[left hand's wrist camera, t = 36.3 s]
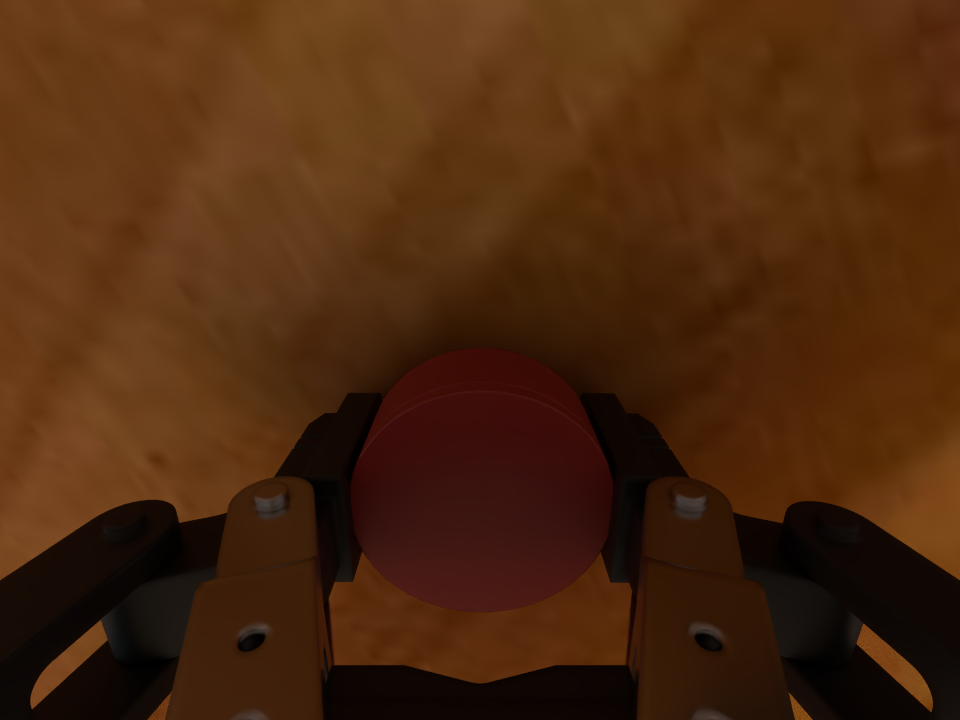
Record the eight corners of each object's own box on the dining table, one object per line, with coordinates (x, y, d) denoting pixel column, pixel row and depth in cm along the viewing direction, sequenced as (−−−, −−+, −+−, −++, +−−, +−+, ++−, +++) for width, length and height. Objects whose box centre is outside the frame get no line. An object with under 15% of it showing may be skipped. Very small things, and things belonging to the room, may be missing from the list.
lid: (325, 437, 11) (291, 498, 9) (497, 299, 10) (501, 332, 8) (468, 570, 12) (466, 649, 10) (634, 461, 11) (667, 526, 9)
